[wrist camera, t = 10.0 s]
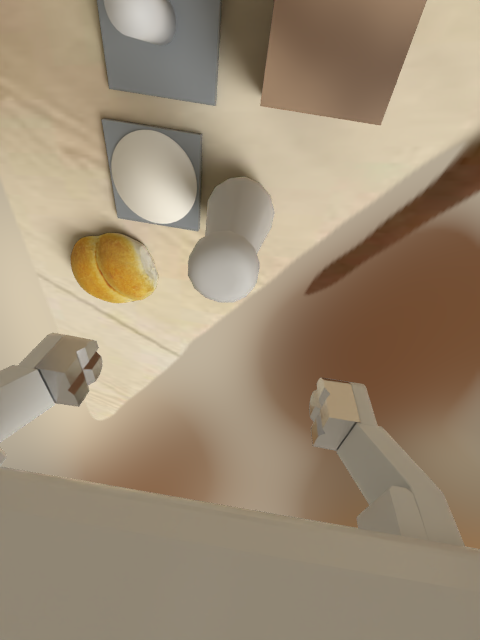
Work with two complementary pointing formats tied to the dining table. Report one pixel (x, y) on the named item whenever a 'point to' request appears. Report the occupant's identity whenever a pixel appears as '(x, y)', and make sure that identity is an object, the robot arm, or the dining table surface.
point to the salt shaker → (231, 240)
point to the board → (162, 47)
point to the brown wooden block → (338, 56)
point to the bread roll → (114, 268)
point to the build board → (155, 173)
